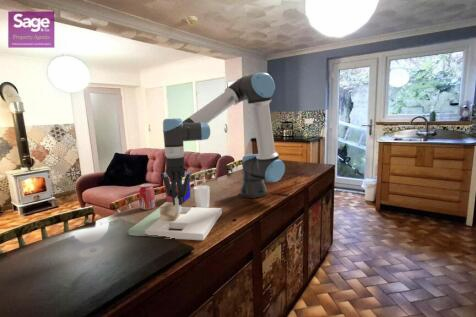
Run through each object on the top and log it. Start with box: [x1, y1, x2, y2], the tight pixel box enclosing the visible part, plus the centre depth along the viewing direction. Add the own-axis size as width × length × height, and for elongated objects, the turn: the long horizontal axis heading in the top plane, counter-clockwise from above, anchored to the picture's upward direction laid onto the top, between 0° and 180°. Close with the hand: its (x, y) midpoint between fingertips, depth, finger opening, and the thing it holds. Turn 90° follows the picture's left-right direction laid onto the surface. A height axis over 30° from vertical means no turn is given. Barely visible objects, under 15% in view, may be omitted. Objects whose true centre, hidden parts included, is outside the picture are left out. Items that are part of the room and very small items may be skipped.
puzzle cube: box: [165, 179, 191, 203], centre depth 143 cm, size 10×10×10 cm
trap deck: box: [127, 206, 223, 241], centre depth 110 cm, size 30×27×2 cm
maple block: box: [159, 201, 181, 221], centre depth 110 cm, size 6×6×6 cm
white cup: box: [193, 184, 211, 208], centre depth 130 cm, size 8×8×10 cm
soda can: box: [138, 183, 156, 211], centre depth 130 cm, size 7×7×12 cm
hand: (178, 212), depth 109 cm, fingers closed
